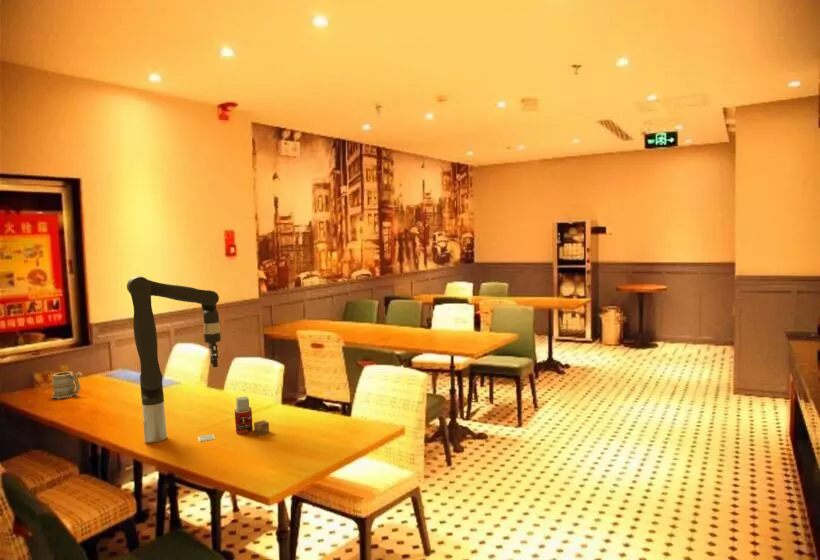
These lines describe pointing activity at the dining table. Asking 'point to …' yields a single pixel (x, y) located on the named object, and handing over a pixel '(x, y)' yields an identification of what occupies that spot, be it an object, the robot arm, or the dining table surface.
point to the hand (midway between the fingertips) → (214, 365)
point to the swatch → (206, 438)
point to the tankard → (65, 384)
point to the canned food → (243, 421)
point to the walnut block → (261, 427)
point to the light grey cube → (242, 403)
